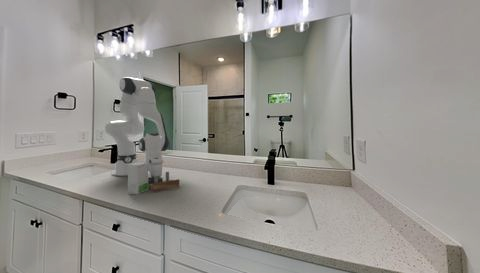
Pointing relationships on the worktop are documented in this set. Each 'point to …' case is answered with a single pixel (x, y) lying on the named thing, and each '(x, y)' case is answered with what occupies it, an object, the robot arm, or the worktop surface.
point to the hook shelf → (164, 184)
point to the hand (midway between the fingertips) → (154, 180)
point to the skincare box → (137, 177)
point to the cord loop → (151, 180)
